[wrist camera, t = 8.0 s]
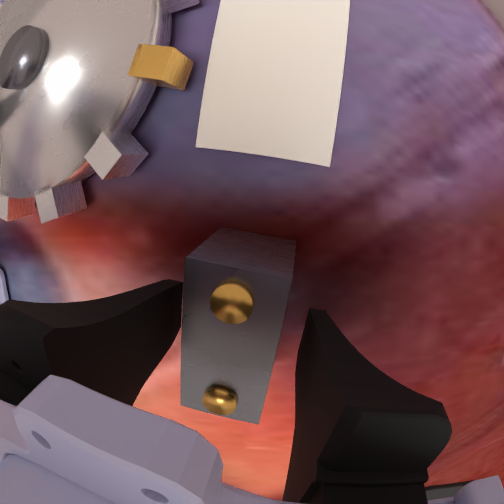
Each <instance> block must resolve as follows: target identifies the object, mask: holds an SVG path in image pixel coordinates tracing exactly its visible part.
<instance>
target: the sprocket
mask: <svg viewBox="0 0 504 504" xmlns="http://www.w3.org/2000/svg"><path fill="white" fill-rule="evenodd" d="M199 3H200V2H199V0H5V1H3V0H0V218H1V219H3V220H5V221H7V222H8V221H11V220H14V219H17V218H20V217H23V216H26V215H29V214H33V213H34V210H35V199H36V204H37V208H38V212H39V216H40V220H41V224H42V223H45V222H48V221H51V220H54V219H57V218H60V217H63V216H66V215H69V214H71V213H74V212H77V211H80V210H83V209H86V208H87V205H86V201H85V197H84V193H83V189H82V184H81V181H83V180H85V179H86V178H88V177H89V176H91V175H92V174H93V173H95V172H96V173H97V174H98V175H99V176H100V178H101V179H102V180H105V179H111V178H117V177H123V176H129V175H131V174H132V173H133V172H134V171H135V169H136V168H137V167H138V166H139V165H140V164H141V162H142V161H143V160H144V159H145V158H146V157H147V155H148V154H149V153H148V152H147V151H146V150H145V149H144V148H143V147H142V146H141V144H140V143H139V142H138V141H137V140H136V139H135V138H134V137H133V135H132V134H131V132H132V131H133V130H134V128H135V127H136V125H137V123H138V122H139V120H140V118H141V117H142V115H143V113H144V112H145V110H146V108H147V106H148V104H149V102H150V100H151V98H152V96H153V94H154V92H155V89H156V87H157V86H160V87H166V88H172V89H177V90H183V91H185V88H186V85H187V82H188V79H189V76H190V73H191V70H192V67H193V64H194V62H193V61H191V60H190V59H189V58H187V57H186V56H185V55H183V54H182V53H181V52H180V51H178V50H177V49H176V48H174V47H169V43H170V37H171V23H172V16H171V14H172V13H174V12H177V11H179V10H182V9H185V8H188V7H191V6H193V5H196V4H199Z"/></svg>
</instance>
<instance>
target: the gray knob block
mask: <svg viewBox="0 0 504 504" xmlns="http://www.w3.org/2000/svg"><path fill="white" fill-rule="evenodd" d="M296 242H297V240H291V239H286V238H280V237H275V236H270V235H264V234H259V233H253V232H247V231H242V230H236V229H231V228H225V227H220V228H219V229H218V230H217V231H216V232H215V233H213V234H212V235H211V236H210V237H209V238H208V239H206V240H205V241H204V242H203V243H202V244H201V245H199V246H198V247H197V248H196V249H195V250H194V251H193V252H191V253H190V254H189V255H188V256H187V257H186V260H185V274H184V291H183V311H182V338H181V405H182V406H185V407H189V408H192V409H196V410H199V411H203V412H207V413H211V414H215V415H219V416H223V417H227V418H231V419H235V420H240V421H245V422H249V423H254V424H259V420H260V416H261V412H262V408H263V405H264V401H265V397H266V393H267V389H268V385H269V381H270V377H271V372H272V368H273V364H274V360H275V356H276V351H277V347H278V343H279V339H280V334H281V330H282V325H283V321H284V316H285V312H286V307H287V303H288V298H289V293H290V288H291V284H292V279H293V270H294V261H295V252H296Z"/></svg>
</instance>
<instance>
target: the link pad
mask: <svg viewBox="0 0 504 504" xmlns="http://www.w3.org/2000/svg"><path fill="white" fill-rule="evenodd" d="M349 7H350V0H221V3H220V7H219V12H218V16H217V21H216V26H215V31H214V36H213V41H212V46H211V51H210V57H209V62H208V68H207V74H206V80H205V86H204V92H203V98H202V105H201V111H200V118H199V125H198V132H197V140H196V147H199V148H209V149H218V150H226V151H234V152H242V153H249V154H257V155H263V156H270V157H276V158H283V159H289V160H295V161H300V162H306V163H311V164H317V165H322V166H327V167H330V162H331V156H332V150H333V143H334V137H335V130H336V123H337V117H338V109H339V102H340V94H341V87H342V78H343V70H344V61H345V52H346V42H347V31H348V20H349Z"/></svg>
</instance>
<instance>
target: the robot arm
mask: <svg viewBox="0 0 504 504" xmlns="http://www.w3.org/2000/svg"><path fill="white" fill-rule="evenodd" d="M182 290H183V282H179V281H174V280H170V279H168V280H163V281H159V282H156V283H153V284H150V285H147V286H144V287H140V288H137V289H134V290H131V291H128V292H124V293H121V294H117V295H114V296H110V297H106V298H101V299H95V300H90V301H82V302H70V303H33V302H24V301H16V300H9V297H8V292H7V287H6V281H5V276H4V273H3V271H2V269H0V504H504V489H503V486H502V484H501V481H500V478H499V476H497V475H495V476H491V477H487V478H483V479H479V480H475V481H472V482H470V483H468V484H466V485H465V486H463V487H462V488H461V489H460V490H459V491H458V492H457V493H456V494H455V496H452V497H447V498H441V499H435V500H428V501H427V496H426V491H425V486H424V483H426V482H427V481H428V478H429V476H428V472H427V468H428V467H429V465H430V464H431V463H432V462H433V461H434V460H435V459H436V457H437V456H438V455H439V454H440V453H441V452H442V450H443V449H444V448H445V446H446V445H447V443H448V441H449V440H450V437H451V433H452V428H451V423H450V421H449V418H448V416H447V414H446V411H445V409H444V406H443V404H442V403H441V402H439V401H436V400H434V399H431V398H429V397H426V396H424V395H421V394H419V393H417V392H415V391H413V390H411V389H409V388H407V387H405V386H403V385H402V384H400V383H398V382H397V381H395V380H393V379H392V378H390V377H389V376H387V375H386V374H385V373H383V372H382V371H380V370H379V369H378V368H376V367H375V366H374V365H373V364H372V363H370V362H369V361H368V360H367V359H366V358H365V357H363V356H362V355H361V354H360V353H359V352H358V351H357V350H356V348H355V347H354V346H353V345H352V344H351V343H350V342H349V341H348V340H347V338H346V337H345V336H344V335H343V334H342V332H341V331H340V330H339V328H338V327H337V326H336V325H335V323H334V322H333V320H332V319H331V318H330V316H329V315H328V314H327V312H326V311H323V310H318V309H312V308H309V312H308V316H307V320H306V324H305V327H304V331H303V335H302V339H301V342H300V346H299V350H298V355H297V363H296V371H295V430H294V437H293V444H292V451H291V457H290V463H289V469H288V475H287V480H286V485H285V490H284V495H283V500H282V501H277V500H272V499H269V498H266V497H263V496H259V495H256V494H253V493H250V492H247V491H245V490H242V489H239V488H236V487H233V486H231V485H228V484H226V483H223V482H222V480H221V477H222V471H223V463H222V460H221V457H220V454H219V451H218V450H217V448H216V447H215V446H213V445H212V444H211V443H210V442H209V441H208V440H206V439H205V438H204V437H203V436H202V435H201V434H199V433H198V432H197V431H195V430H193V429H190V428H188V427H186V426H184V425H182V424H179V423H177V422H175V421H173V420H170V419H167V418H164V417H161V416H158V415H155V414H152V413H149V412H146V411H144V410H141V409H138V408H135V407H133V406H132V405H133V403H134V402H135V400H136V398H137V396H138V394H139V392H140V390H141V388H142V387H143V385H144V384H145V382H146V381H147V379H148V378H149V376H150V375H151V374H152V372H153V371H154V369H155V368H156V367H157V365H158V364H159V362H160V361H161V360H162V358H163V357H164V355H165V354H166V352H167V351H168V350H169V348H170V347H171V345H172V343H173V342H174V340H175V338H176V336H177V334H178V331H179V329H180V327H181V311H182Z"/></svg>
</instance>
